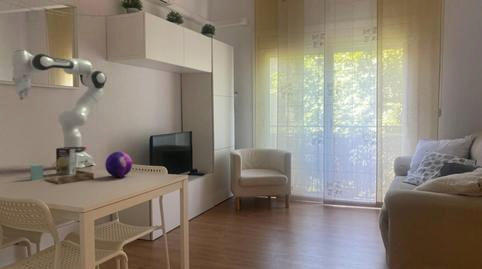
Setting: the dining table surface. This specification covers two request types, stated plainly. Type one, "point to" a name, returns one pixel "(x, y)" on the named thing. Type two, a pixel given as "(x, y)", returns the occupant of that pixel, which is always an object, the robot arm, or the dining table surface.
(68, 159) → the coffee box
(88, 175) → the tray
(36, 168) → the teal block
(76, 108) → the robot arm
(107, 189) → the dining table surface
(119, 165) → the decorative orb
